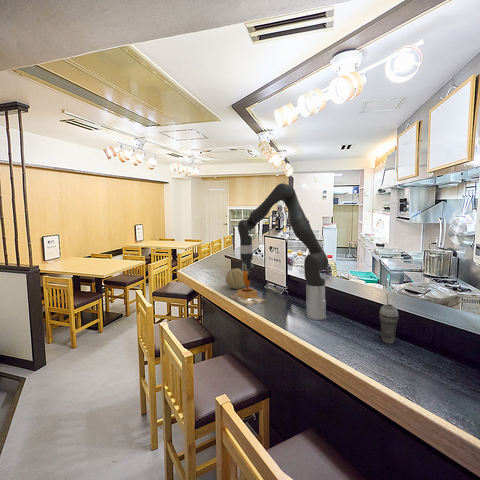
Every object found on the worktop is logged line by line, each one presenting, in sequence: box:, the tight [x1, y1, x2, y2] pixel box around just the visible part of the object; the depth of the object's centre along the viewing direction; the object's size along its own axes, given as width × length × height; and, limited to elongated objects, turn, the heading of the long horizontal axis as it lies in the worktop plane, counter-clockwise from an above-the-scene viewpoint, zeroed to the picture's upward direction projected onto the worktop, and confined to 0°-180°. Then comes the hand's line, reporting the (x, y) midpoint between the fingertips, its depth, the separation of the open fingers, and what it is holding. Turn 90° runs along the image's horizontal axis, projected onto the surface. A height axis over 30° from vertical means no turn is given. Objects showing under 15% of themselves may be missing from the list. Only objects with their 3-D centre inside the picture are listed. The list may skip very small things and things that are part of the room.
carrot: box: [243, 265, 252, 288], centre depth 173 cm, size 5×5×15 cm
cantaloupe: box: [225, 267, 245, 290], centre depth 199 cm, size 15×15×15 cm
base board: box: [229, 293, 267, 307], centre depth 175 cm, size 14×20×1 cm
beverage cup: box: [378, 293, 399, 344], centre depth 116 cm, size 7×7×20 cm
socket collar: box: [236, 287, 258, 301], centre depth 175 cm, size 13×13×5 cm
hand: (247, 279), depth 173 cm, fingers closed on carrot, 4 cm apart
